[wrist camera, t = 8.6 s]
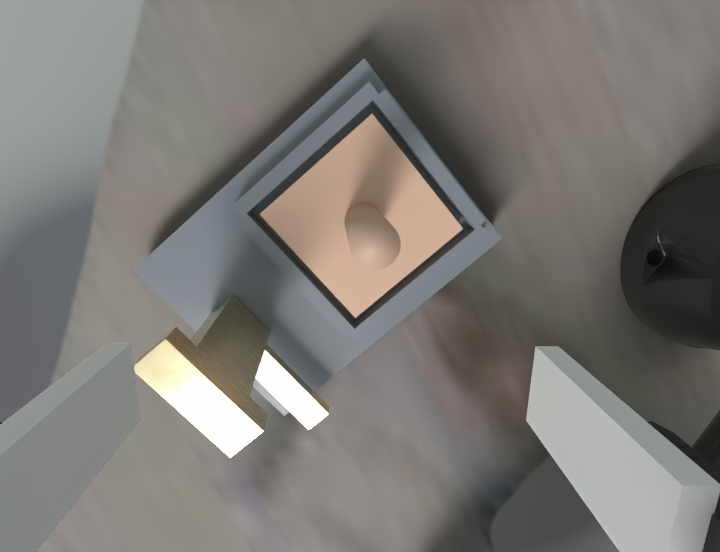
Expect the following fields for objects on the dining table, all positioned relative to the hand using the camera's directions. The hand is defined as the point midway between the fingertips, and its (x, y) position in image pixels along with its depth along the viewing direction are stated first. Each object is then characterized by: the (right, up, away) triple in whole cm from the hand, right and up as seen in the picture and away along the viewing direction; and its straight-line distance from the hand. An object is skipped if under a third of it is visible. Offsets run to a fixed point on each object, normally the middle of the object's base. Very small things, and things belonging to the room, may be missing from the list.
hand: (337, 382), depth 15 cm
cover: (+1, +8, +18) cm, 19 cm away
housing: (-2, +6, +21) cm, 22 cm away
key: (-6, -2, +20) cm, 21 cm away
